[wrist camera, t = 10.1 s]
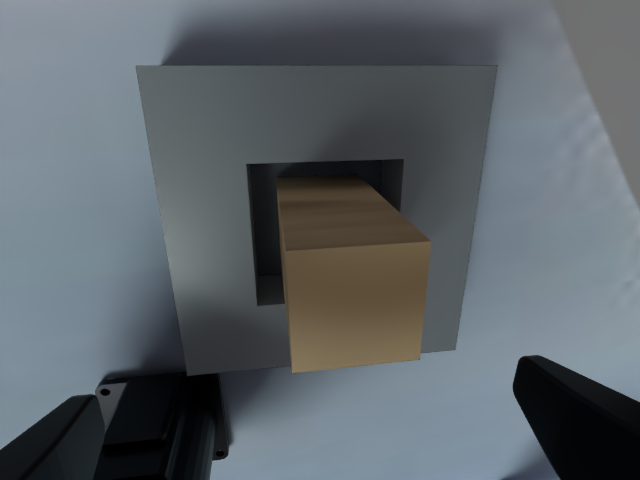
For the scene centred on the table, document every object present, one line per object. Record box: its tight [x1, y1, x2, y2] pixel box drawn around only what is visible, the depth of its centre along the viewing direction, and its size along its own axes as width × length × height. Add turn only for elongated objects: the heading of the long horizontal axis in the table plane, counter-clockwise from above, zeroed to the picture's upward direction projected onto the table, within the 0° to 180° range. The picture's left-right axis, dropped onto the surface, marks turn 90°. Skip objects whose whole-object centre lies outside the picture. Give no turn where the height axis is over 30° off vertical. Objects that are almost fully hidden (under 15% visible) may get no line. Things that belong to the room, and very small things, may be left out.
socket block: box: [136, 65, 498, 376], centre depth 18 cm, size 13×13×3 cm
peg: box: [276, 174, 431, 373], centre depth 15 cm, size 4×4×9 cm
